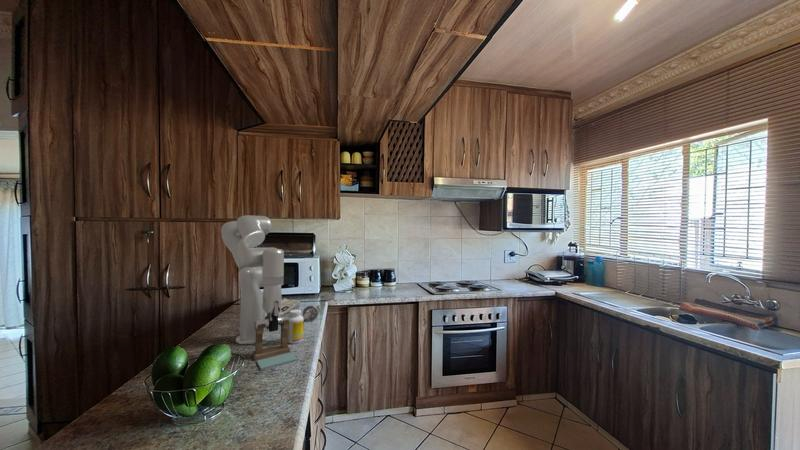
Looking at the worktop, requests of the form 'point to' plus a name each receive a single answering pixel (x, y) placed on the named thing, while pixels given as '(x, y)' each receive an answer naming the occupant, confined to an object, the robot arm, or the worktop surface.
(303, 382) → the worktop surface
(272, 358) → the rubber mat
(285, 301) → the newspaper
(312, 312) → the spaceship
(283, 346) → the walnut rack
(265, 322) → the steel rail
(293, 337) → the supplement bottle
